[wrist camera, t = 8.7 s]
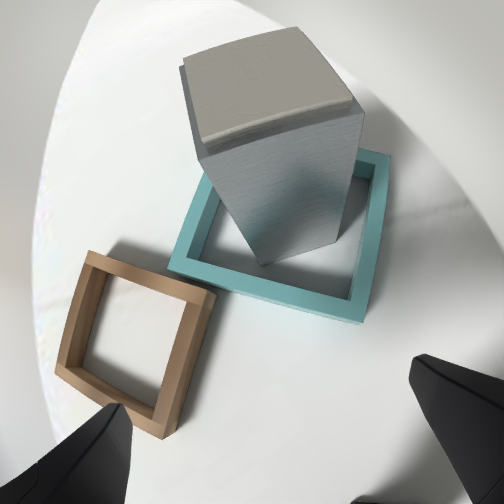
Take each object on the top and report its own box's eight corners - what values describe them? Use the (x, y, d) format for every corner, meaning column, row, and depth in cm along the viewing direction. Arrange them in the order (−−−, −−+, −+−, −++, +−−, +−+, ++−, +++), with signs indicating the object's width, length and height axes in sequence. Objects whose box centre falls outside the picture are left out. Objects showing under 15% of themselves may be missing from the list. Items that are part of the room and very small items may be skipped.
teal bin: (384, 171, 20) (390, 156, 18) (357, 324, 17) (363, 323, 15) (230, 142, 23) (223, 126, 21) (179, 275, 20) (166, 268, 18)
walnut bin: (217, 295, 19) (207, 289, 17) (175, 432, 17) (162, 439, 15) (103, 257, 22) (88, 249, 20) (71, 372, 19) (54, 373, 18)
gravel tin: (335, 242, 19) (367, 101, 7) (261, 266, 19) (192, 150, 8) (309, 178, 20) (301, 21, 9) (241, 199, 21) (174, 57, 9)
